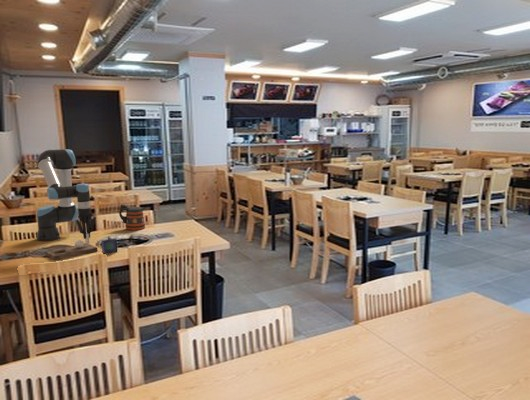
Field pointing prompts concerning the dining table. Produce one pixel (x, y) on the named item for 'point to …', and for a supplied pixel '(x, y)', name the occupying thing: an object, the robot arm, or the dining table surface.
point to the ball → (79, 244)
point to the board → (70, 251)
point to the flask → (109, 245)
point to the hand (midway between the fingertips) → (87, 243)
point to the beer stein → (133, 217)
